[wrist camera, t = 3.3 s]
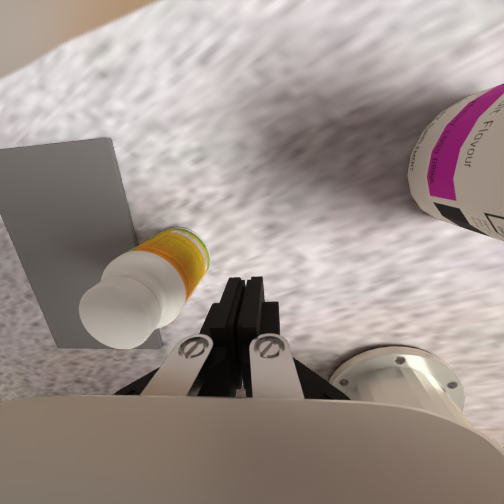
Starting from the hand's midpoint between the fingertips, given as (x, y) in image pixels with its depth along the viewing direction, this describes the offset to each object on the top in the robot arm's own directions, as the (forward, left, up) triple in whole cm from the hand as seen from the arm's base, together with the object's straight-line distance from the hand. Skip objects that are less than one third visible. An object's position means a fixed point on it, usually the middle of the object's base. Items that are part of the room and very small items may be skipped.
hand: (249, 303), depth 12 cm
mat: (0, +17, -9) cm, 19 cm away
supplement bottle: (0, +7, -9) cm, 12 cm away
